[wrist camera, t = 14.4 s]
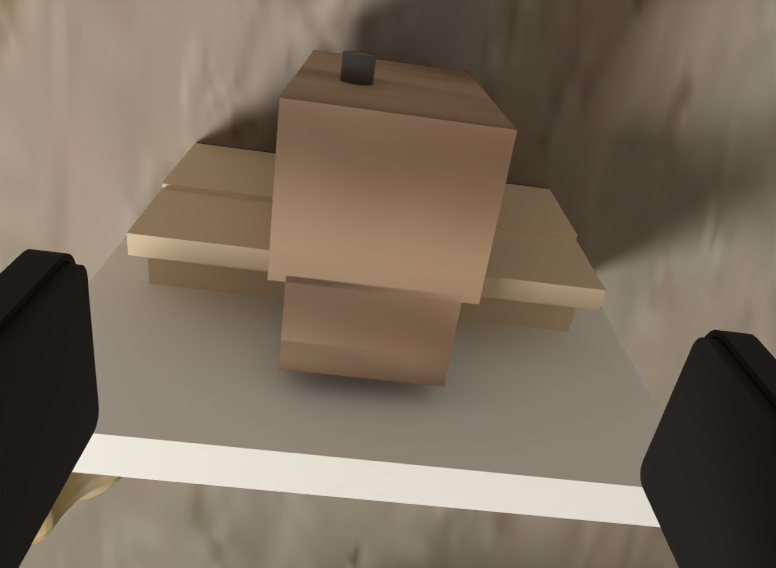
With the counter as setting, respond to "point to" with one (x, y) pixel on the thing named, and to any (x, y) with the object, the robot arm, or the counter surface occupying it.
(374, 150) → the wall box
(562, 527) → the counter surface
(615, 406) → the wall board
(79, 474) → the hand bell
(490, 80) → the counter surface
